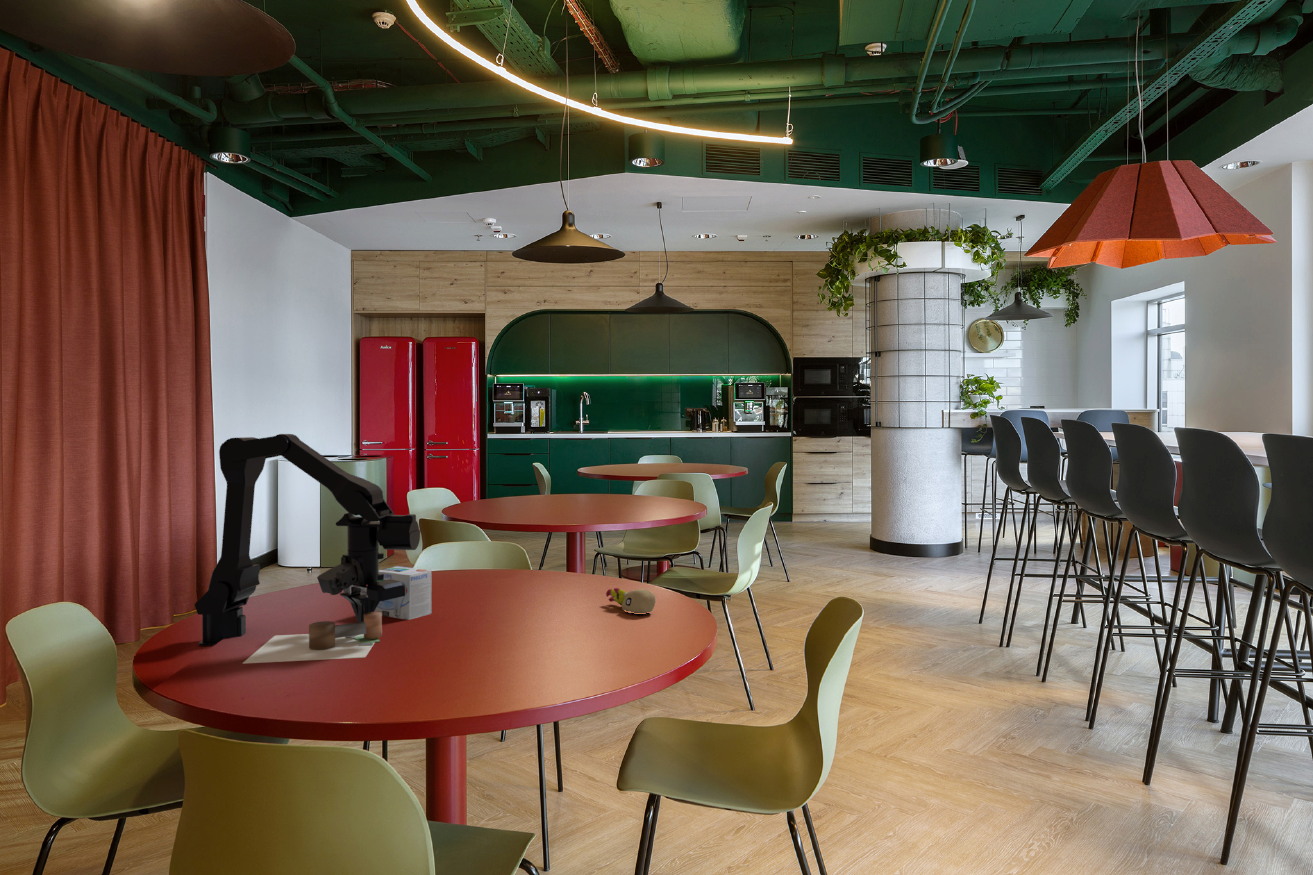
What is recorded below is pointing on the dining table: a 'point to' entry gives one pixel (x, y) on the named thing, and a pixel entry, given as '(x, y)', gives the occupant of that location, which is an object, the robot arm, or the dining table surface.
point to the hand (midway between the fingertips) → (363, 629)
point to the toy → (633, 599)
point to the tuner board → (299, 650)
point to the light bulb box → (408, 593)
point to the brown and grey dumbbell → (344, 630)
